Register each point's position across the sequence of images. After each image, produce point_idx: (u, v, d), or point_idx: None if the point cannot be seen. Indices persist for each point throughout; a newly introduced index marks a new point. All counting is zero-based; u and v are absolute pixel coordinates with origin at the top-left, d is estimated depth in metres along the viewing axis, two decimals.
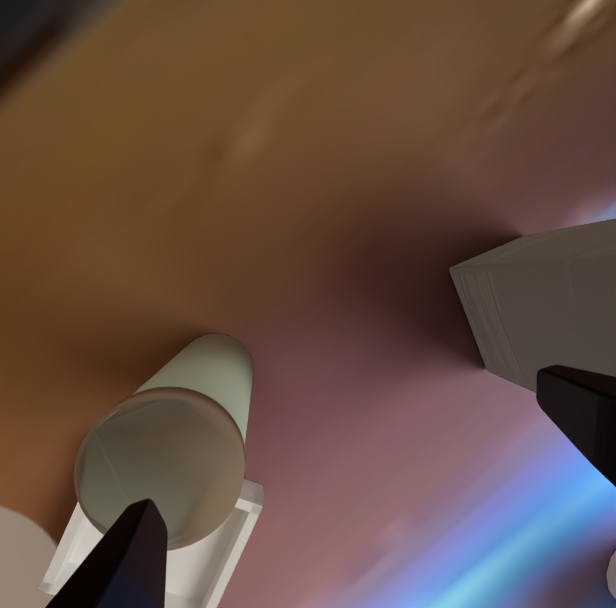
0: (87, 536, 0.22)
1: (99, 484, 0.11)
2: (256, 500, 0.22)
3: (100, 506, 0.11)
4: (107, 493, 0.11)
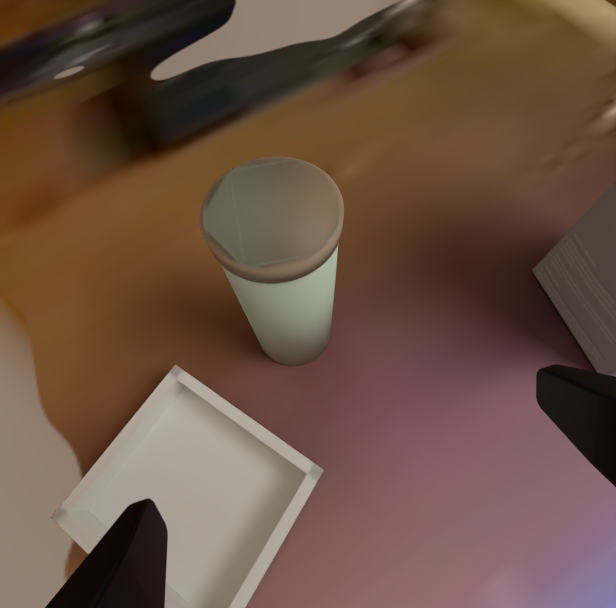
0: (120, 479, 0.19)
1: (220, 208, 0.12)
2: None
3: (215, 224, 0.12)
4: (224, 215, 0.12)
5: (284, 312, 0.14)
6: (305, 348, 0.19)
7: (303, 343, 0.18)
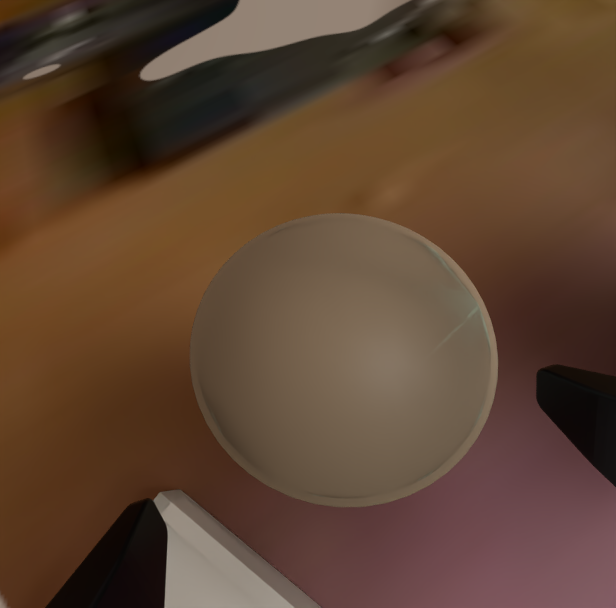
0: None
1: (233, 329, 0.06)
2: None
3: (223, 370, 0.06)
4: (241, 348, 0.06)
5: None
6: None
7: None
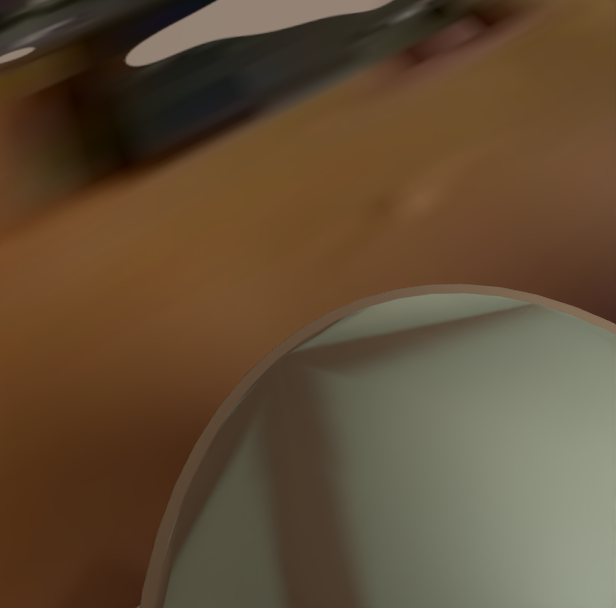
0: None
1: (242, 601, 0.02)
2: None
3: None
4: None
5: None
6: None
7: None
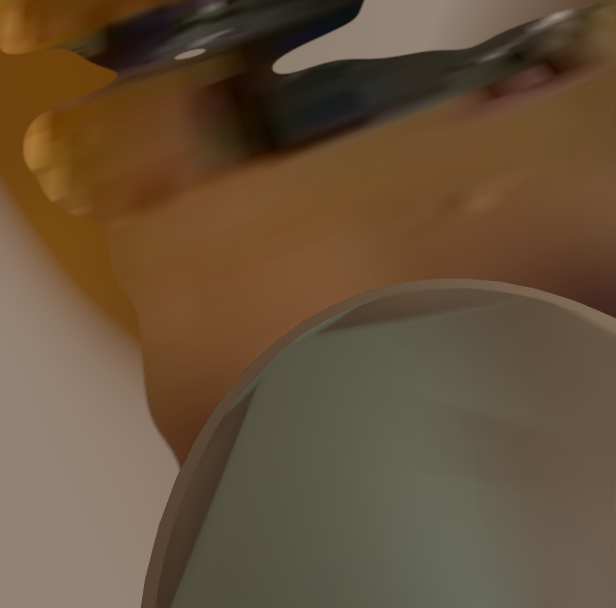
0: None
1: (244, 591, 0.02)
2: None
3: None
4: None
5: None
6: None
7: None
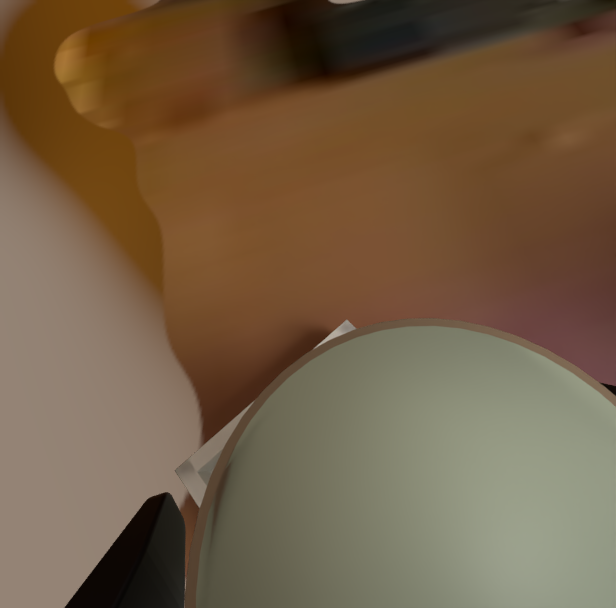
0: None
1: (263, 560, 0.03)
2: None
3: None
4: (280, 605, 0.03)
5: None
6: None
7: None
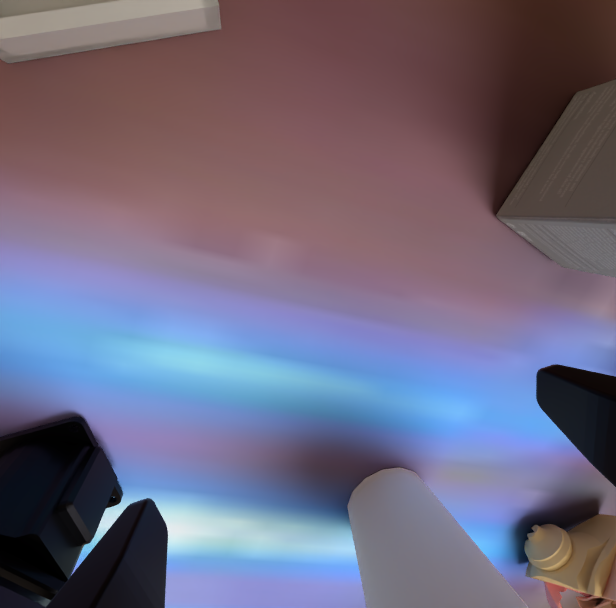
0: None
1: None
2: None
3: None
4: None
5: None
6: None
7: None
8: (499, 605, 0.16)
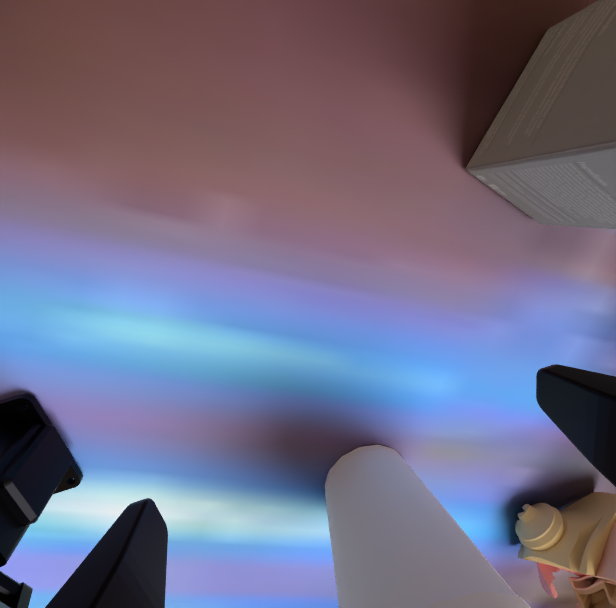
0: None
1: None
2: None
3: None
4: None
5: None
6: None
7: None
8: (469, 579, 0.15)
